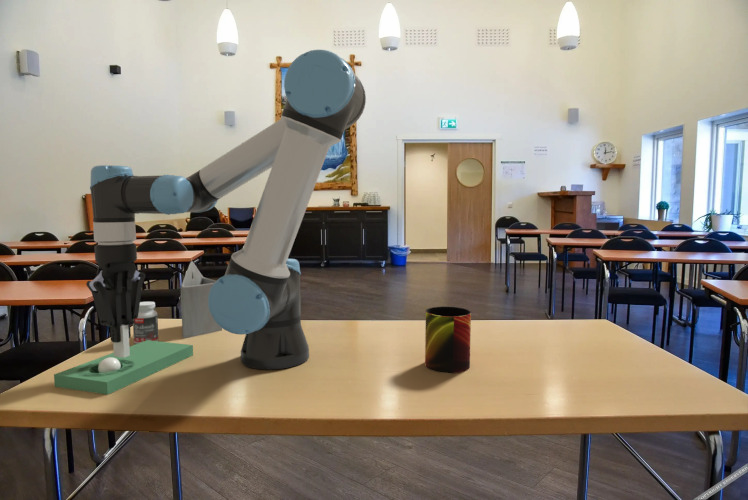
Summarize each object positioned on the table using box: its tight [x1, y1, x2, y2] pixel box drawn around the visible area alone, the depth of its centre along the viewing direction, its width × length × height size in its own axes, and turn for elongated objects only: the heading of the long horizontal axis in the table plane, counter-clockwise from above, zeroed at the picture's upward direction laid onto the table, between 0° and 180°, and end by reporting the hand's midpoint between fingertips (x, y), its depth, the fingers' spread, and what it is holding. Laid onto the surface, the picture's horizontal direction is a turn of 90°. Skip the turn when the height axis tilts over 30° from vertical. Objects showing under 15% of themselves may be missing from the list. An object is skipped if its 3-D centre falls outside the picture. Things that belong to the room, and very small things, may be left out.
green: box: [53, 340, 194, 395], centre depth 102 cm, size 24×13×2 cm, turn 162°
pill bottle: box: [132, 301, 159, 344], centre depth 122 cm, size 6×6×10 cm
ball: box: [98, 357, 121, 373], centre depth 97 cm, size 4×4×4 cm
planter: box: [180, 260, 223, 339], centre depth 132 cm, size 16×8×19 cm, turn 1°
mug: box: [424, 306, 472, 374], centre depth 106 cm, size 10×14×12 cm
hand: (121, 355), depth 100 cm, fingers closed
